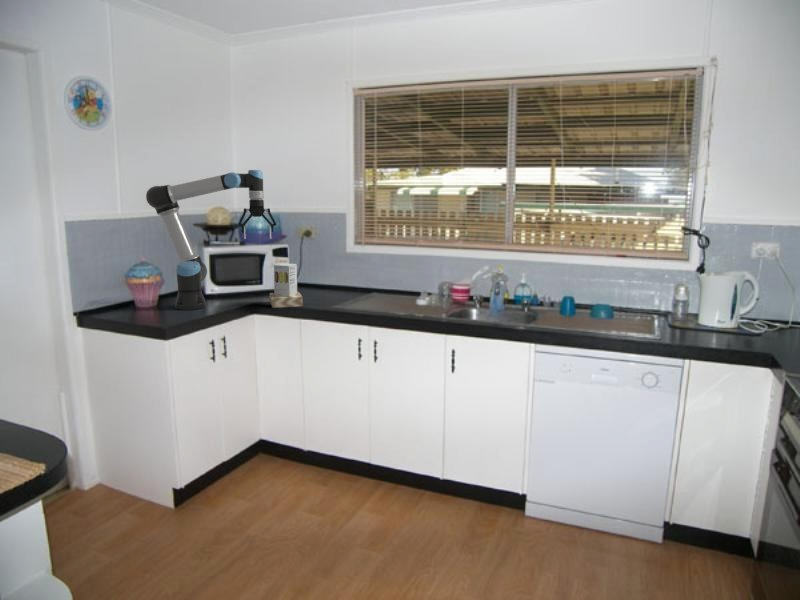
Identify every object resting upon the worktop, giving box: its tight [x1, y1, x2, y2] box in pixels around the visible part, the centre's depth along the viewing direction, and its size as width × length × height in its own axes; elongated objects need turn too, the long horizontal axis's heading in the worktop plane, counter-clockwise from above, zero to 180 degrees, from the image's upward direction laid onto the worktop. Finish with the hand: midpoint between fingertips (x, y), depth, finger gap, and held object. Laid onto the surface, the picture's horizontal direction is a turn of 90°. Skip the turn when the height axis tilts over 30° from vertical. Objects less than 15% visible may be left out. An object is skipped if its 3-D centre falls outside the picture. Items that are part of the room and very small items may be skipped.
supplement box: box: [273, 262, 298, 297], centre depth 305 cm, size 10×9×17 cm
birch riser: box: [269, 291, 304, 309], centre depth 307 cm, size 16×16×5 cm
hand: (257, 238), depth 308 cm, fingers open, 13 cm apart
